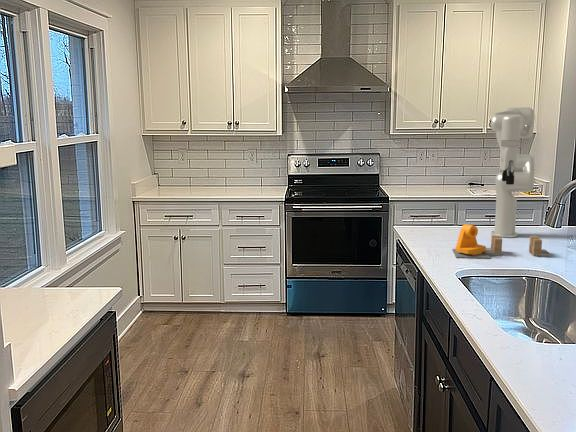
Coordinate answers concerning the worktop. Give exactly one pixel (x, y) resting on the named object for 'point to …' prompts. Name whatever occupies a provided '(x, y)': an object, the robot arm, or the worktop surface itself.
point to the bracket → (469, 241)
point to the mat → (478, 256)
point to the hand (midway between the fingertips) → (507, 182)
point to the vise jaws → (534, 247)
